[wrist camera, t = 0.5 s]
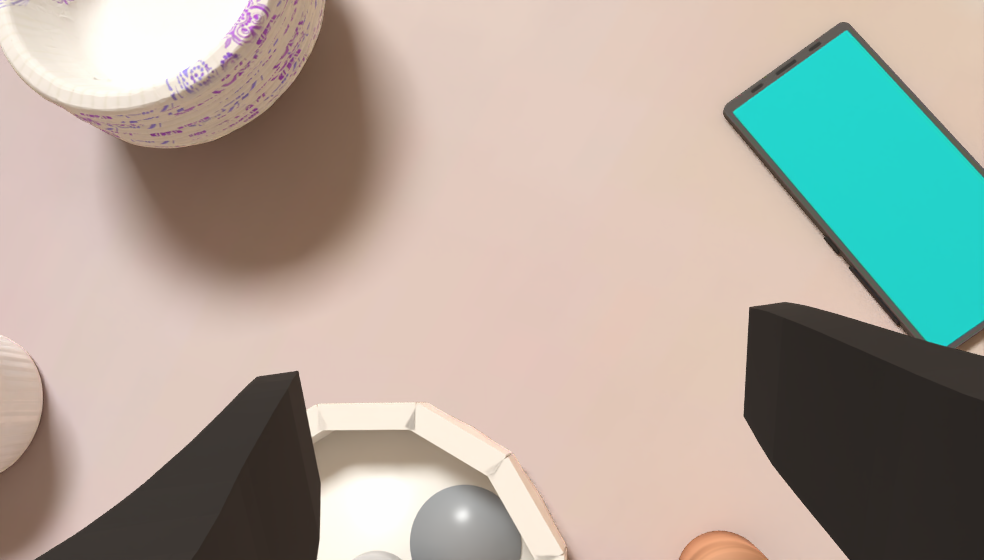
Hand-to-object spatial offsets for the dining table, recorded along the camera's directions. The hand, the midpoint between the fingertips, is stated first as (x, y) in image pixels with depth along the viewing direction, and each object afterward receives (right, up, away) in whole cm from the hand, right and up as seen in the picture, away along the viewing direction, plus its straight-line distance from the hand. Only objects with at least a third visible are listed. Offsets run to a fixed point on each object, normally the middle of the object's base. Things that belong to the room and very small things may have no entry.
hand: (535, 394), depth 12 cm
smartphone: (+18, +6, +24) cm, 30 cm away
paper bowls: (-16, +15, +30) cm, 37 cm away
